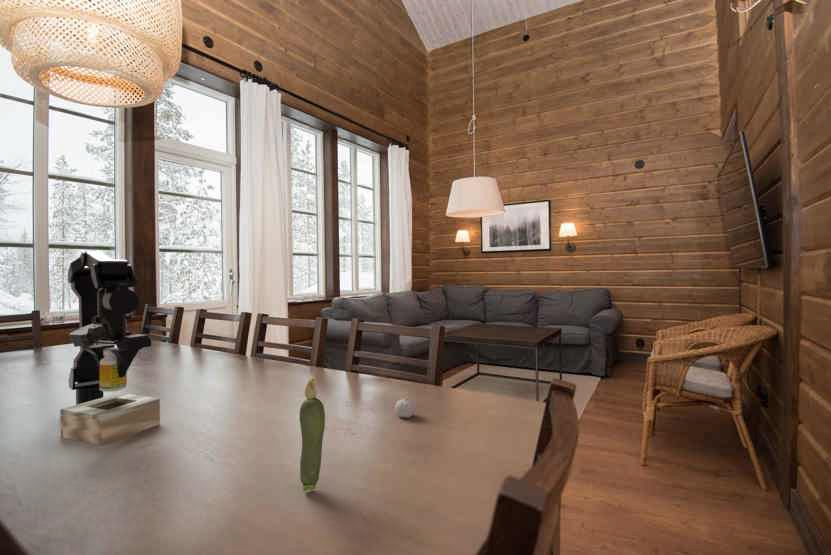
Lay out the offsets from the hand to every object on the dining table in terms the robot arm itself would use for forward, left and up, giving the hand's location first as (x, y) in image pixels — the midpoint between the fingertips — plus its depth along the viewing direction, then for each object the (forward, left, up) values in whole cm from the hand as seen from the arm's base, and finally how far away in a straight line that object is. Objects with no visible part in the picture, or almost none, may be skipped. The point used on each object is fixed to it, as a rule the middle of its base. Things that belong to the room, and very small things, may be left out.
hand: (113, 376), depth 104 cm
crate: (0, 0, -13) cm, 13 cm away
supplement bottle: (0, 0, -3) cm, 3 cm away
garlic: (+63, +33, -13) cm, 72 cm away
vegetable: (+61, -8, -13) cm, 63 cm away
